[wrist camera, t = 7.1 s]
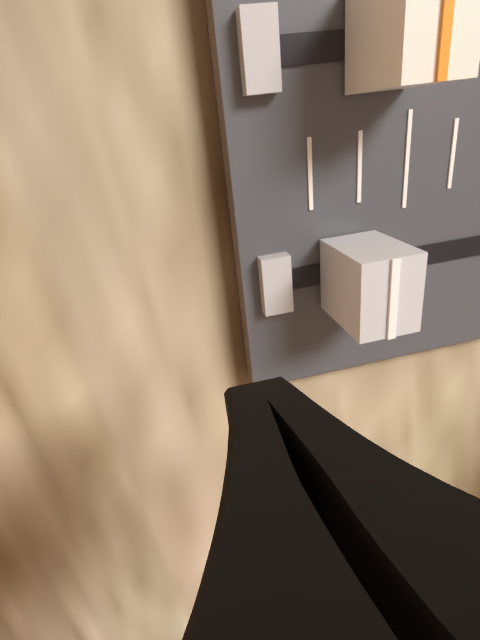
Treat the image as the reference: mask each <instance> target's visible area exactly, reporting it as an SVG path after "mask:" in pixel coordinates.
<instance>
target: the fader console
mask: <svg viewBox="0 0 480 640" xmlns="http://www.w3.org/2000/svg"><path fill="white" fill-rule="evenodd" d="M205 6H206V15H207V24H208V32H209V41H210V50H211V58H212V67H213V76H214V85H215V93H216V102H217V111H218V119H219V128H220V137H221V146H222V154H223V163H224V172H225V180H226V189H227V198H228V206H229V215H230V224H231V233H232V241H233V250H234V259H235V267H236V276H237V285H238V294H239V302H240V311H241V320H242V328H243V337H244V346H245V355H246V363H247V372H248V376H249V379H250V381H251V383H253V382H258V381H262V380H267V379H272V378H276V377H282V378H284V379H285V380H287V381H291V380H295V379H300V378H304V377H309V376H313V375H318V374H322V373H327V372H331V371H336V370H340V369H345V368H349V367H354V366H358V365H363V364H367V363H371V362H376V361H380V360H385V359H389V358H394V357H398V356H403V355H407V354H412V353H416V352H421V351H425V350H430V349H434V348H439V347H443V346H448V345H452V344H457V343H461V342H466V341H470V340H475V339H479V338H480V62H479V70H478V77H477V78H470V79H464V80H457V81H451V82H445V83H438V84H432V85H425V86H419V87H413V88H406V89H397V90H388V91H379V92H370V93H361V94H353V95H345V0H205ZM372 230H376V231H378V232H381V233H383V234H385V235H388V236H390V237H393V238H395V239H397V240H400V241H402V242H404V243H407V244H409V245H412V246H414V247H416V248H419V249H421V250H423V251H426V252H428V258H427V268H426V278H425V288H424V298H423V308H422V318H421V329H420V332H415V333H411V334H406V335H401V336H397V337H396V338H394V339H390V340H388V339H382V340H378V341H373V342H368V343H364V344H359V343H358V342H357V341H356V340H355V339H354V338H352V337H351V336H350V335H349V334H348V333H347V332H346V331H345V330H344V329H343V328H342V327H341V326H340V325H339V324H338V323H337V322H336V321H335V320H334V319H333V318H332V317H331V316H330V315H329V314H328V313H327V312H325V311H324V310H323V309H322V308H321V284H320V239H324V238H330V237H336V236H342V235H348V234H354V233H360V232H366V231H372Z"/></svg>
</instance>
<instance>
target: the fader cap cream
mask: <svg viewBox="0 0 480 640" xmlns="http://www.w3.org/2000/svg"><path fill="white" fill-rule="evenodd" d="M479 62H480V0H345V95H353V94H361V93H370V92H379V91H388V90H397V89H406V88H413V87H419V86H425V85H432V84H438V83H445V82H451V81H457V80H464V79H470V78H477V77H478V70H479Z"/></svg>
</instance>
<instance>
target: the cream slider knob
mask: <svg viewBox="0 0 480 640" xmlns="http://www.w3.org/2000/svg"><path fill="white" fill-rule="evenodd" d="M427 258H428V252H426V251H423V250H421V249H419V248H416V247H414V246H412V245H409V244H407V243H404V242H402V241H400V240H397V239H395V238H393V237H390V236H388V235H385V234H383V233H381V232H378V231H376V230H372V231H366V232H360V233H354V234H348V235H342V236H336V237H330V238H324V239H320V284H321V308H322V309H323V310H324V311H325V312H327V313H328V314H329V315H330V316H331V317H332V318H333V319H334V320H335V321H336V322H337V323H338V324H339V325H340V326H341V327H342V328H343V329H344V330H345V331H346V332H347V333H348V334H349V335H350V336H351V337H352V338H354V339H355V340H356V341H357V342H358V343H359V344H364V343H368V342H373V341H378V340H382V339H388V340H390V339H394V338H396V337H397V336H401V335H406V334H411V333H415V332H420V329H421V318H422V308H423V298H424V288H425V278H426V268H427Z"/></svg>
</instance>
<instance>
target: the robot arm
mask: <svg viewBox="0 0 480 640" xmlns="http://www.w3.org/2000/svg"><path fill="white" fill-rule="evenodd" d="M224 397H225V403H226V410H227V417H228V424H229V436H228V452H227V462H226V469H225V476H224V483H223V490H222V496H221V502H220V507H219V512H218V517H217V521H216V526H215V530H214V535H213V539H212V543H211V547H210V551H209V554H208V558H207V562H206V565H205V569H204V573H203V576H202V580H201V584H200V587H199V590H198V594H197V597H196V600H195V603H194V607H193V610H192V613H191V616H190V619H189V622H188V624H187V627H186V630H185V633H184V636H183V639H182V640H480V499H479V498H477V497H475V496H473V495H470V494H468V493H466V492H464V491H462V490H460V489H458V488H455V487H453V486H451V485H449V484H447V483H445V482H443V481H441V480H439V479H437V478H435V477H434V476H432V475H430V474H428V473H426V472H424V471H422V470H420V469H418V468H416V467H414V466H412V465H411V464H409V463H407V462H405V461H403V460H402V459H400V458H398V457H396V456H394V455H393V454H391V453H389V452H388V451H386V450H385V449H383V448H381V447H380V446H378V445H376V444H375V443H373V442H371V441H370V440H368V439H367V438H365V437H364V436H362V435H361V434H359V433H358V432H356V431H355V430H353V429H352V428H350V427H349V426H347V425H346V424H344V423H343V422H342V421H340V420H339V419H337V418H336V417H334V416H333V415H332V414H330V413H329V412H327V411H326V410H325V409H323V408H322V407H321V406H319V405H318V404H317V403H315V402H314V401H313V400H311V399H310V398H309V397H307V396H306V395H305V394H303V393H302V392H301V391H300V390H298V389H297V388H296V387H294V386H293V385H292V384H291V383H289V382H288V381H287V380H285V379H284V378H282V377H276V378H272V379H267V380H262V381H258V382H253V383H249V384H244V385H240V386H235V387H231V388H228V389H227V390H226V392H225V393H224Z"/></svg>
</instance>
